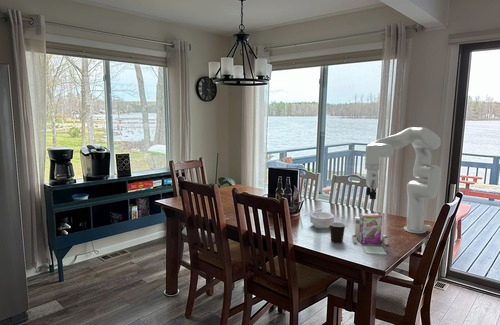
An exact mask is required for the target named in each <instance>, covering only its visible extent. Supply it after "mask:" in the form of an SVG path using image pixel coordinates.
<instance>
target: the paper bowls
mask: <svg viewBox="0 0 500 325" xmlns="http://www.w3.org/2000/svg"><path fill="white" fill-rule="evenodd" d="M309 221H310V222H309V223H311V224H312V225H313V226H314V227H315V228H316V229H324V230H325V229H330V223H333V222H335V216H334V214H333V213H330V212H326V211H315V212H312V213H311V212H310V217H309Z"/></svg>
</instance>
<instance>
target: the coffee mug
mask: <svg viewBox="0 0 500 325" xmlns="http://www.w3.org/2000/svg"><path fill="white" fill-rule="evenodd" d="M345 229H346V224H345V223H344V222H339V221H337V222H335V221H334V222H333V223H330V227H329V233H330V241H331V242H332V243H333V244H343V241H344V236H345V235H344V234H345Z"/></svg>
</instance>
